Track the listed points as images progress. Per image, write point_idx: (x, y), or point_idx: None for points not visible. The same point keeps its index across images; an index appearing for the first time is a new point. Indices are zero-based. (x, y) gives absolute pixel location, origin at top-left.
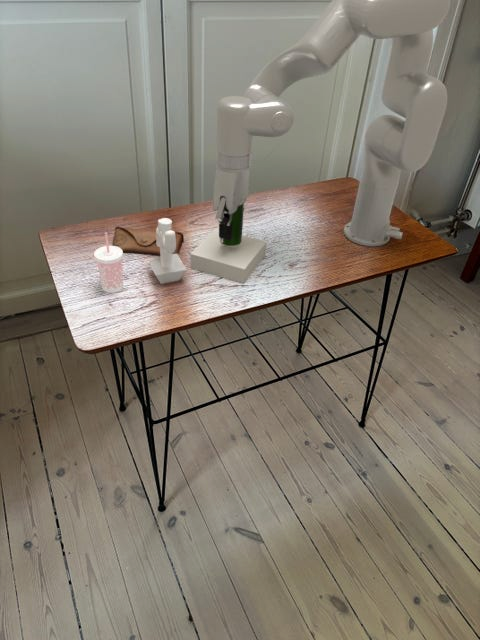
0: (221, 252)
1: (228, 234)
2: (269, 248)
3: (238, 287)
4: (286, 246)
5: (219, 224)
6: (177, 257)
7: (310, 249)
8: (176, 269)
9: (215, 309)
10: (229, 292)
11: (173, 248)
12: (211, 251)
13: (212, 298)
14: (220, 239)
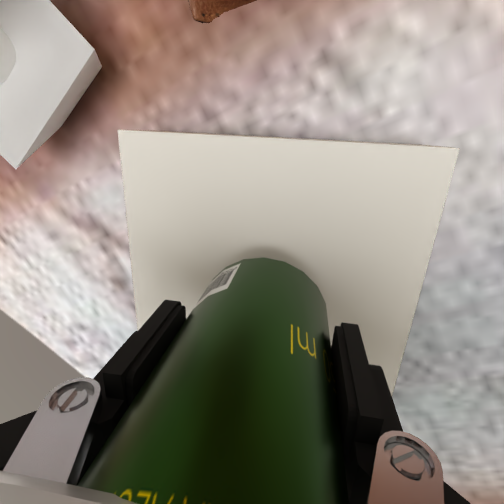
0: (206, 270)
1: None
2: (430, 373)
3: None
4: (465, 423)
5: (116, 359)
6: (66, 73)
7: (464, 487)
8: None
9: (18, 299)
10: (106, 312)
11: None
12: (192, 222)
13: (52, 276)
14: (215, 279)
